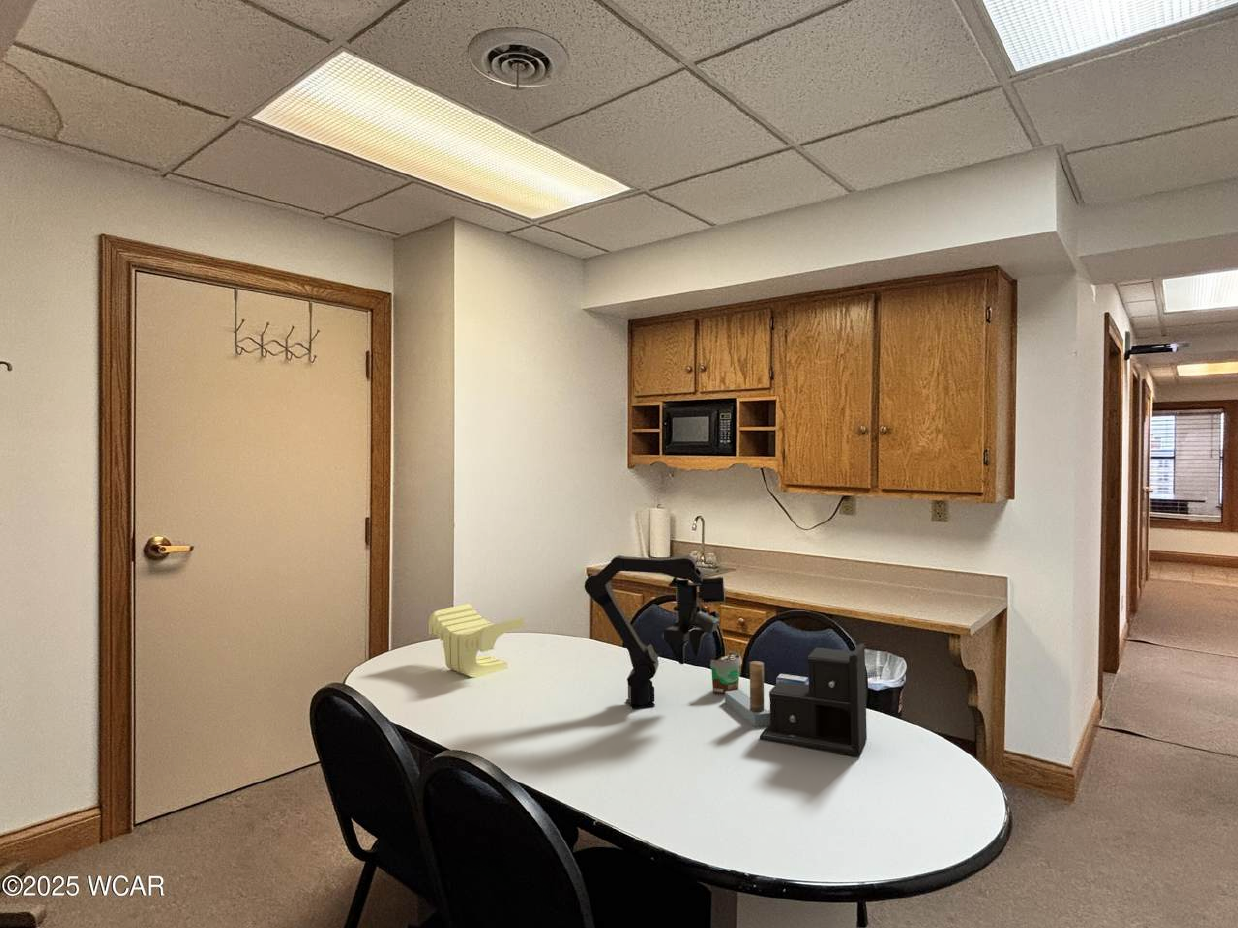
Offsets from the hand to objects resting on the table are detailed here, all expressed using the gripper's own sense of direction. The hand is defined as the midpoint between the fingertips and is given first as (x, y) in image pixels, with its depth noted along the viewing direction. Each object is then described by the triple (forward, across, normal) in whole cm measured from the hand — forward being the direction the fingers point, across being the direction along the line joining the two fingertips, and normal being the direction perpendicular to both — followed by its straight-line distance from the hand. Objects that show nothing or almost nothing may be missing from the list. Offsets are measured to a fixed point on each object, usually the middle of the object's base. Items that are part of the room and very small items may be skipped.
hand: (689, 659), depth 193 cm
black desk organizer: (+14, -5, -35) cm, 38 cm away
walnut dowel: (+10, 0, -19) cm, 22 cm away
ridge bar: (+13, +4, -15) cm, 20 cm away
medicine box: (+14, +12, -24) cm, 31 cm away
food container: (+13, +17, -4) cm, 22 cm away
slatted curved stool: (+11, -4, +75) cm, 76 cm away
